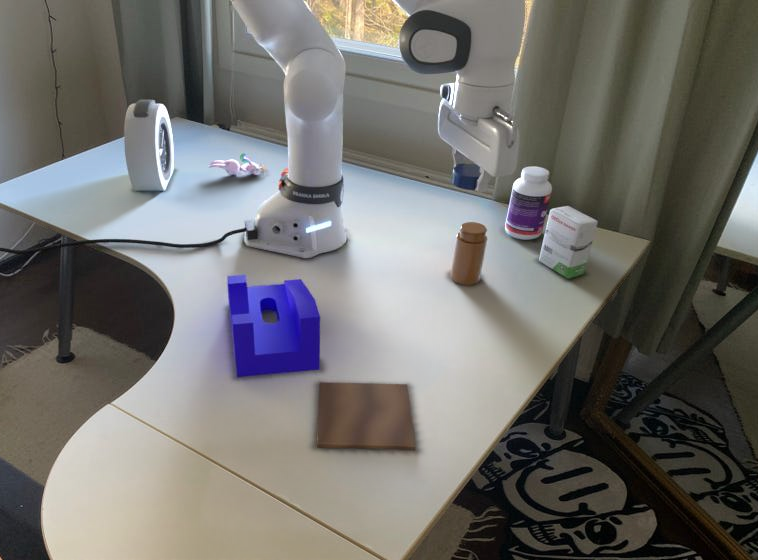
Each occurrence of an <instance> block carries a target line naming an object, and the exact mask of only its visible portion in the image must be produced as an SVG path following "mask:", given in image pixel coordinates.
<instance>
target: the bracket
mask: <svg viewBox="0 0 758 560" xmlns="http://www.w3.org/2000/svg"><path fill="white" fill-rule="evenodd" d="M226 279H227V280H226V282H227V283H226V285H227V297H228V298H227V299H228V308H229V309H228V310H229V317H230V318H229V319H230V327H231V335H232V344H233V354H234V362H235V371H236V378H245V377H255V376H265V375H276V374H287V373H297V372H298V373H299V372H307V371H308V372H309V371H316V370H317V371H319V370H320V367H321V366H320V363H321V361H320V358H321V356H320V355H321V315H320V311H319V308H318V305H317V302H316V301H317V300H316V299H315V297H314V296H313V294H312V293H311V291H310V290H309V288H308V287H307V286H306V284H305V282H304V281H303V280H302V279H301V278H297V279H284V280H283V283H275V284H266V285H265V284H263V285H251V286H248V282H247V281H248V280H247V275H246V274H235V275H227V276H226ZM264 312H273V313H275V314H276V319H277V321H275V322H273V323H268V322H265V321H264V320H263V314H262V313H264Z"/></svg>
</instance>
